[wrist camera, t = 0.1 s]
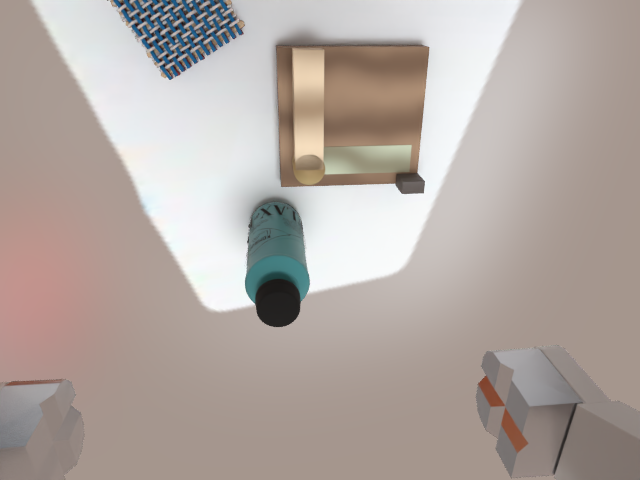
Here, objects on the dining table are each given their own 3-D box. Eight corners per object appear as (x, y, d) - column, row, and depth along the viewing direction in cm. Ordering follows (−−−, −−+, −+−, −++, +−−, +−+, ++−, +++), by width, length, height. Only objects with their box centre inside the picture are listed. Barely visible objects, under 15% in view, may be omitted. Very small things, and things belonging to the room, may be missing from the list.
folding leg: (322, 175, 55) (325, 184, 52) (292, 176, 55) (294, 185, 52) (322, 47, 49) (326, 49, 46) (289, 47, 49) (291, 50, 46)
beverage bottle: (310, 210, 60) (330, 297, 42) (283, 251, 62) (292, 351, 44) (264, 185, 58) (265, 265, 40) (238, 229, 60) (227, 323, 42)
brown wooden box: (276, 45, 51) (277, 49, 46) (422, 45, 53) (438, 49, 48) (280, 181, 58) (282, 197, 53) (410, 177, 59) (423, 193, 54)
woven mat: (187, -75, 46) (184, -78, 44) (248, 30, 51) (248, 30, 49) (100, -14, 48) (94, -15, 46) (167, 82, 52) (164, 85, 50)
